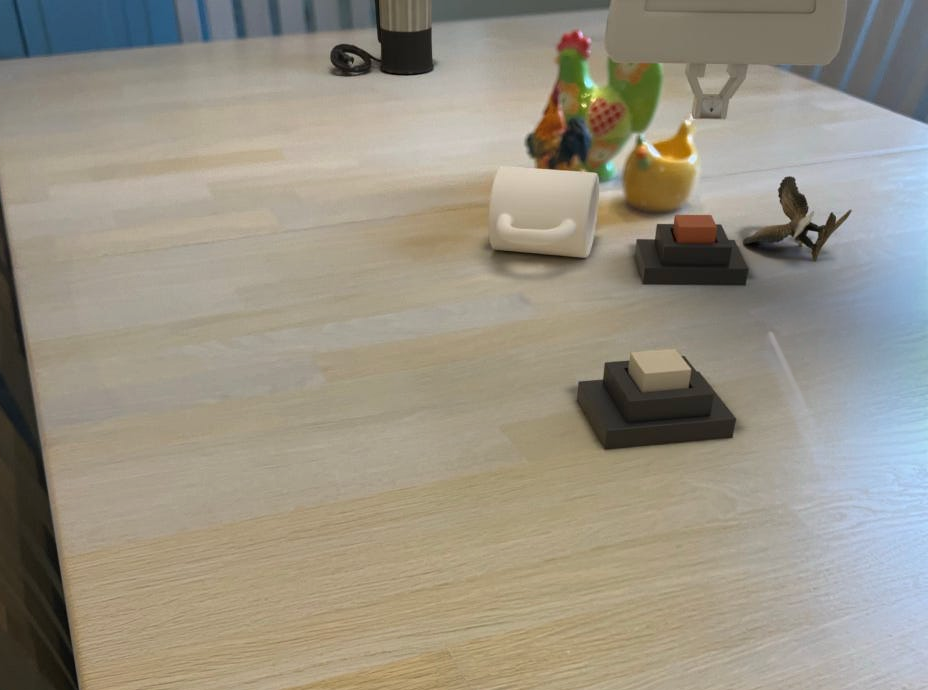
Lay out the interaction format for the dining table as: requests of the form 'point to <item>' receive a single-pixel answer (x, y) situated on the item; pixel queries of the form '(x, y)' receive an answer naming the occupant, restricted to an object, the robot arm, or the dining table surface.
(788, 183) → the eagle figurine
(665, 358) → the cream key
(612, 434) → the black stepped base
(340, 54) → the milk frother
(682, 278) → the dark grey stepped base
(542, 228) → the mug
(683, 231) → the terracotta key
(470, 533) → the dining table surface
